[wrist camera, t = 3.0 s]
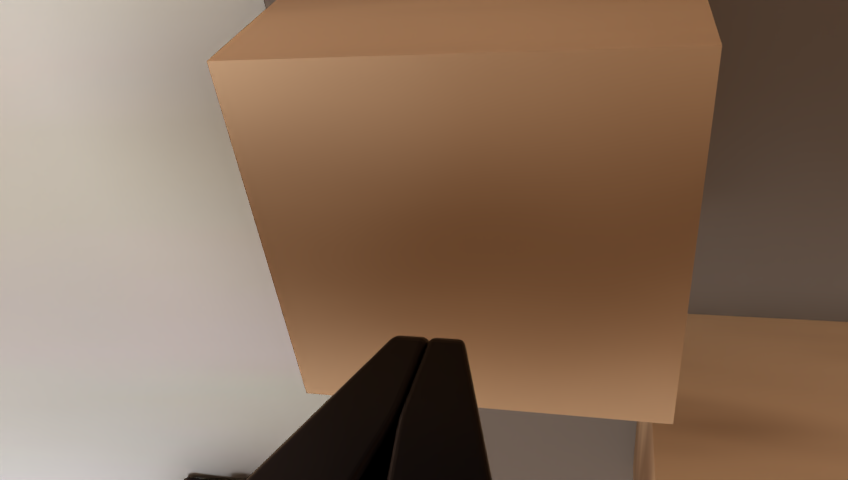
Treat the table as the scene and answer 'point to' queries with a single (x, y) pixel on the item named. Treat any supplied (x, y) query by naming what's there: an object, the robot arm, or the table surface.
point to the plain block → (482, 186)
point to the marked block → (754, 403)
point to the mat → (737, 215)
